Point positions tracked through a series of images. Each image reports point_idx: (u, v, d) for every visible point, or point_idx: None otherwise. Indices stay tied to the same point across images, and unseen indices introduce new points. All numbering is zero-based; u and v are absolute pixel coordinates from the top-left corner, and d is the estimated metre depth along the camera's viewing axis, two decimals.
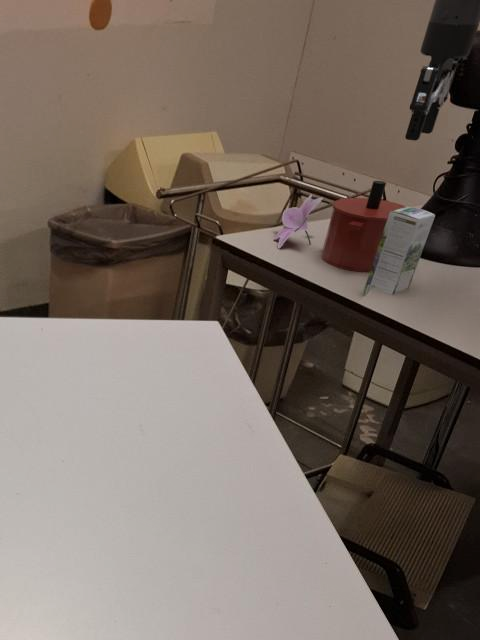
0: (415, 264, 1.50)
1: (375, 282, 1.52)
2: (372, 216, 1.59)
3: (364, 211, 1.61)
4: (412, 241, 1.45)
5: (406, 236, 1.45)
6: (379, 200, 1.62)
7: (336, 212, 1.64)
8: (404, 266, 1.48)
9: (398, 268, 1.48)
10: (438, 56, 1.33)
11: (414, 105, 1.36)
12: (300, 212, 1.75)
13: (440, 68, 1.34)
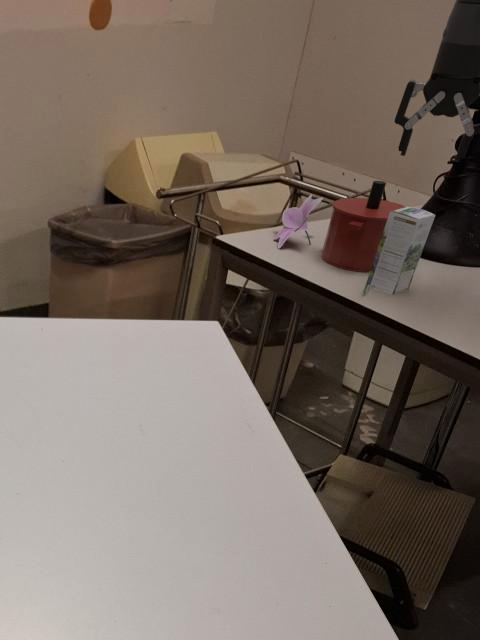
0: (415, 264, 1.50)
1: (375, 282, 1.52)
2: (372, 216, 1.59)
3: (364, 211, 1.61)
4: (412, 241, 1.45)
5: (406, 236, 1.45)
6: (379, 200, 1.62)
7: (336, 212, 1.64)
8: (404, 266, 1.48)
9: (398, 268, 1.48)
10: None
11: None
12: (300, 212, 1.75)
13: None
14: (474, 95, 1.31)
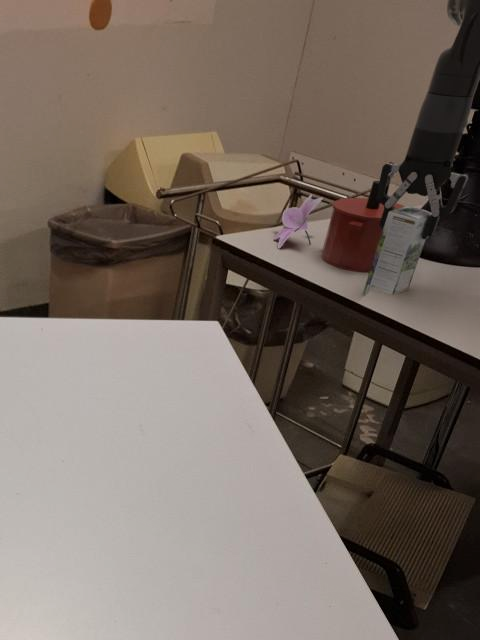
0: (415, 263, 1.50)
1: (375, 281, 1.52)
2: (372, 216, 1.59)
3: (364, 211, 1.61)
4: (411, 240, 1.45)
5: (405, 236, 1.45)
6: None
7: (336, 212, 1.64)
8: (403, 266, 1.48)
9: (397, 267, 1.48)
10: None
11: None
12: (300, 212, 1.75)
13: (401, 165, 1.42)
14: None
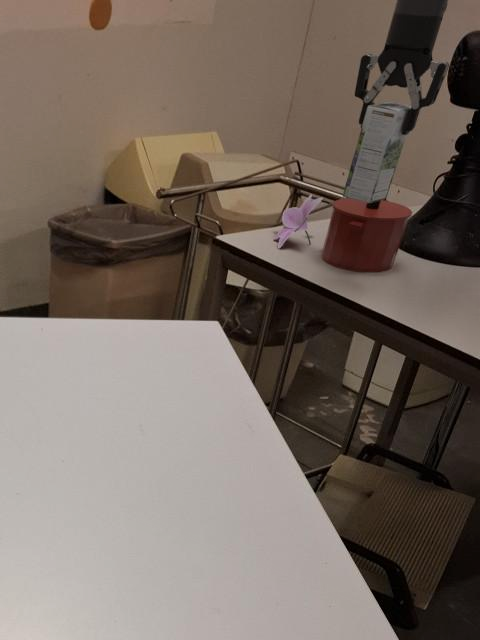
0: (395, 162, 1.46)
1: (354, 182, 1.48)
2: (372, 216, 1.59)
3: (364, 211, 1.61)
4: (391, 135, 1.41)
5: (385, 130, 1.41)
6: None
7: (336, 212, 1.64)
8: (383, 163, 1.44)
9: (377, 165, 1.44)
10: None
11: None
12: (300, 212, 1.75)
13: (380, 55, 1.38)
14: None
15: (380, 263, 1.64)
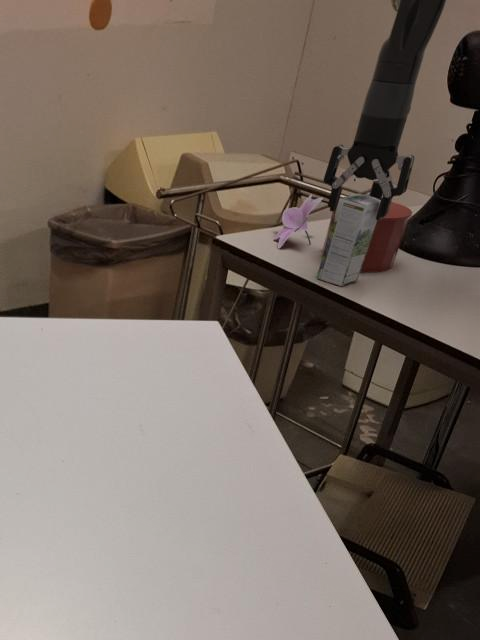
0: (365, 249, 1.56)
1: (327, 266, 1.58)
2: None
3: None
4: (360, 226, 1.51)
5: (355, 222, 1.51)
6: None
7: None
8: (353, 251, 1.54)
9: (348, 253, 1.54)
10: None
11: None
12: (300, 212, 1.75)
13: (350, 150, 1.47)
14: None
15: (380, 263, 1.64)
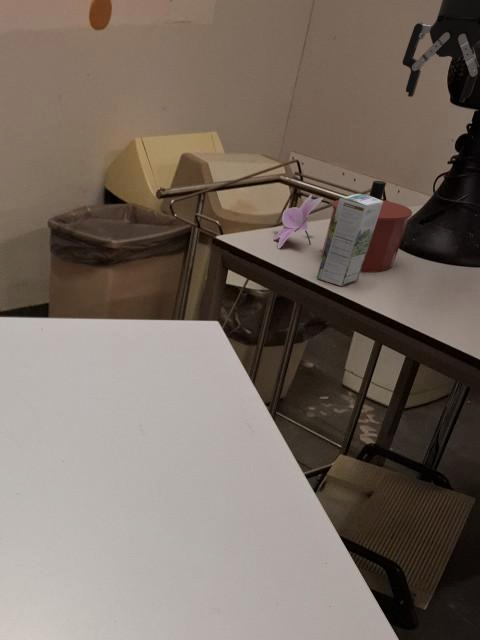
0: (365, 249, 1.56)
1: (327, 266, 1.58)
2: None
3: None
4: (361, 226, 1.51)
5: (355, 222, 1.51)
6: None
7: None
8: (353, 251, 1.54)
9: (348, 253, 1.54)
10: (438, 15, 1.40)
11: None
12: (300, 212, 1.75)
13: (433, 26, 1.40)
14: None
15: (380, 263, 1.64)
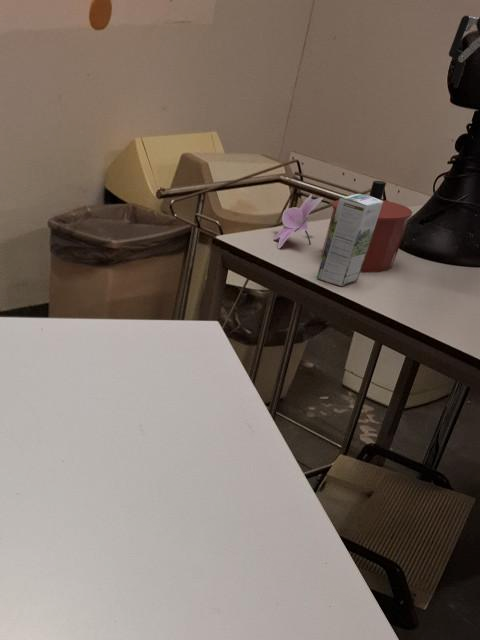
0: (365, 249, 1.56)
1: (327, 266, 1.58)
2: None
3: None
4: (361, 226, 1.51)
5: (355, 222, 1.51)
6: None
7: None
8: (353, 251, 1.54)
9: (348, 253, 1.54)
10: None
11: None
12: (300, 212, 1.75)
13: None
14: None
15: (380, 263, 1.64)
